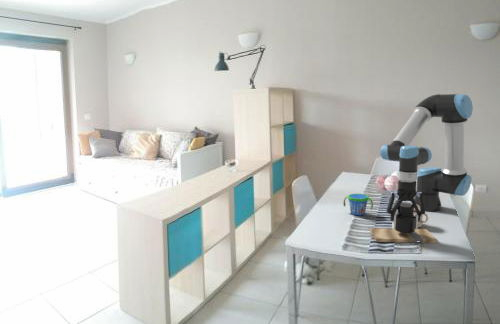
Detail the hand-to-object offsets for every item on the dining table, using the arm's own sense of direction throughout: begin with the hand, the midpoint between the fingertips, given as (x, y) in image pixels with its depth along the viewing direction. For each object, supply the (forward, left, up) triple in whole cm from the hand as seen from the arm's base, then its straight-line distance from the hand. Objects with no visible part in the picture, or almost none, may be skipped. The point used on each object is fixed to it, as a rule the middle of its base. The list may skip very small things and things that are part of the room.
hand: (404, 228), depth 170 cm
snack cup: (+15, -32, -4) cm, 36 cm away
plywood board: (+1, 0, -4) cm, 4 cm away
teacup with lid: (-10, -15, -4) cm, 19 cm away
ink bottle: (0, 0, -1) cm, 1 cm away
